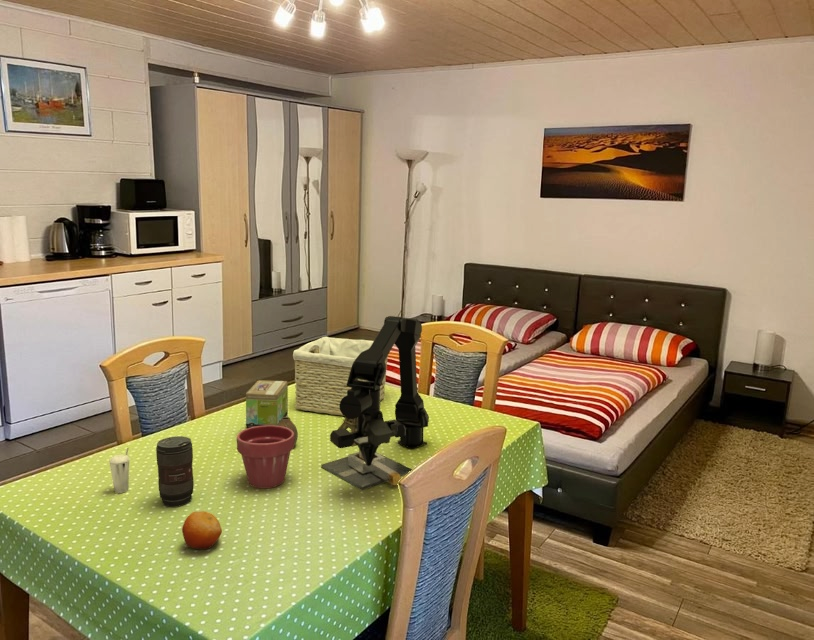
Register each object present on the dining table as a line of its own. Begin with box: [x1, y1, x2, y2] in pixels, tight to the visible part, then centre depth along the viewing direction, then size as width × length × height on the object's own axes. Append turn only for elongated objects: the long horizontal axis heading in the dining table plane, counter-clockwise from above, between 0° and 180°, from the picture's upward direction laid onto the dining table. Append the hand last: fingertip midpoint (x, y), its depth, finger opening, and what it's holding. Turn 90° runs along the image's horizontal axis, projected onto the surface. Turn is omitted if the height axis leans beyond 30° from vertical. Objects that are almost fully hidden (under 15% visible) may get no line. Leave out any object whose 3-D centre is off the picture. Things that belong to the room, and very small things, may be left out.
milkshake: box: [108, 447, 130, 494], centre depth 160 cm, size 4×5×10 cm
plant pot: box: [236, 425, 295, 489], centre depth 167 cm, size 14×14×13 cm
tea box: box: [245, 380, 289, 429], centre depth 201 cm, size 15×10×15 cm
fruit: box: [181, 510, 223, 551], centre depth 136 cm, size 8×8×8 cm
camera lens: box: [155, 435, 195, 508], centre depth 155 cm, size 8×8×15 cm
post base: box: [320, 448, 413, 491], centre depth 175 cm, size 17×18×6 cm
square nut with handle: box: [347, 451, 401, 486], centre depth 171 cm, size 17×7×3 cm, turn 37°
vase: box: [277, 416, 299, 446], centre depth 190 cm, size 7×7×9 cm
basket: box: [292, 336, 389, 417], centre depth 228 cm, size 27×27×22 cm
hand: (368, 465), depth 165 cm, fingers closed
